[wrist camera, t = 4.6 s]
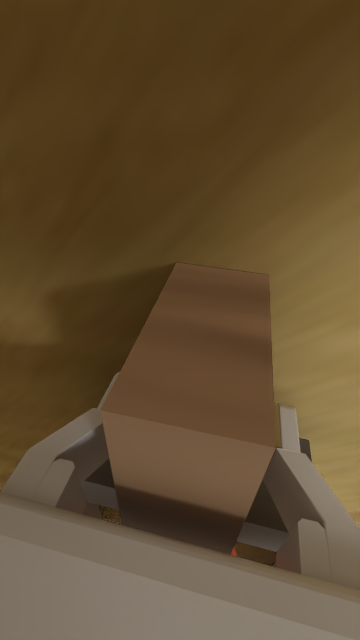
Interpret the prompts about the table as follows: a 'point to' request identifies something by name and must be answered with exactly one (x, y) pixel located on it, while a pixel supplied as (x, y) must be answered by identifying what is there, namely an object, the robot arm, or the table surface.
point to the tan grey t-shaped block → (196, 416)
